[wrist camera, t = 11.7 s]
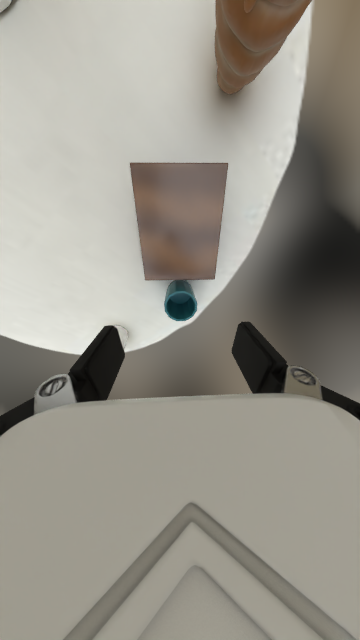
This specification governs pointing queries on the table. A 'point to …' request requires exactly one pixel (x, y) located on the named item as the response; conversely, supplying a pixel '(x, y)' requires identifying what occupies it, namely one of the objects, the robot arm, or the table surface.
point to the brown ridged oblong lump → (251, 37)
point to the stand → (179, 218)
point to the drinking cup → (180, 301)
